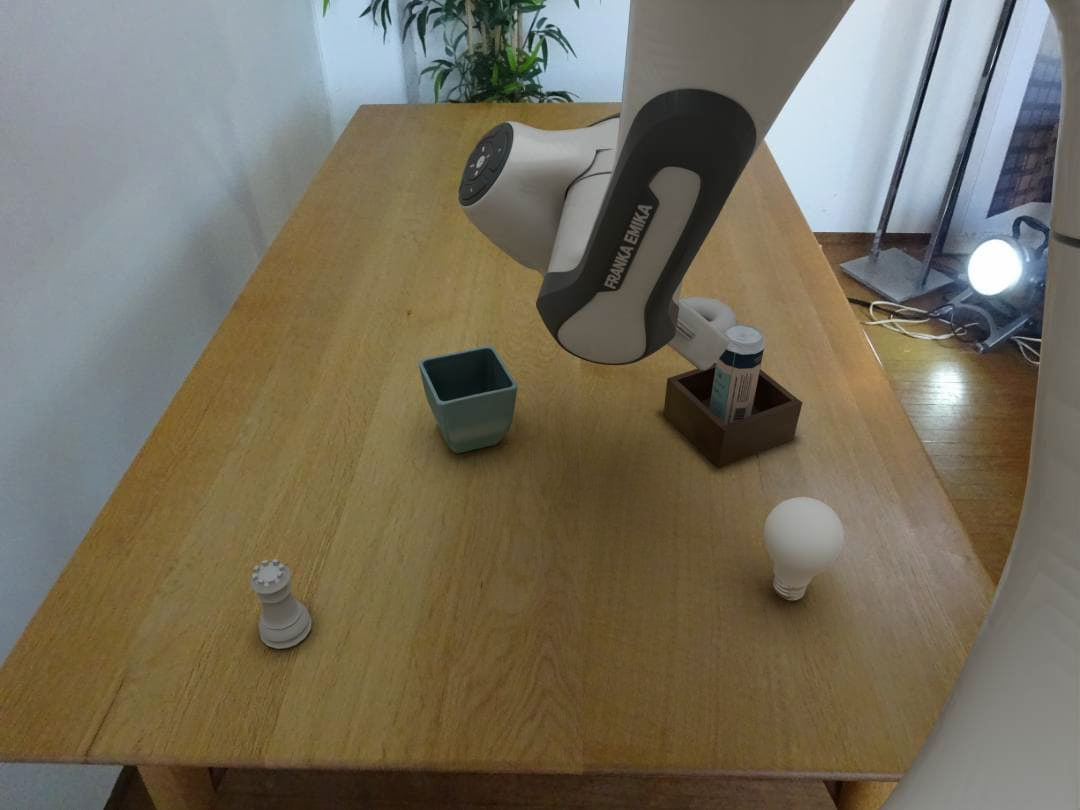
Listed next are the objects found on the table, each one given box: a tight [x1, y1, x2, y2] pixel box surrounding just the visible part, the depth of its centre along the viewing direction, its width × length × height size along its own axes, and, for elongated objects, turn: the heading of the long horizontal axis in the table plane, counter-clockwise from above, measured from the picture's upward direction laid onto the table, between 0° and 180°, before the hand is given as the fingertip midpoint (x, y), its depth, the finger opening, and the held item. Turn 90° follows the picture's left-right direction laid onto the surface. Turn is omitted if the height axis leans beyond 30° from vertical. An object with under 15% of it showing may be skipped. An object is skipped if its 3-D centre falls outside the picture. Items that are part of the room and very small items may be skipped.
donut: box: [681, 296, 739, 333], centre depth 108 cm, size 10×4×10 cm
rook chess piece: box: [249, 558, 313, 650], centre depth 69 cm, size 4×4×8 cm
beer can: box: [709, 323, 766, 425], centre depth 89 cm, size 5×5×12 cm
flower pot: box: [417, 345, 519, 454], centre depth 89 cm, size 9×9×9 cm
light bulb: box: [763, 496, 845, 602], centre depth 71 cm, size 7×7×11 cm
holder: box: [663, 361, 803, 469], centre depth 92 cm, size 11×11×5 cm
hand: (683, 329), depth 81 cm, fingers open, 8 cm apart
